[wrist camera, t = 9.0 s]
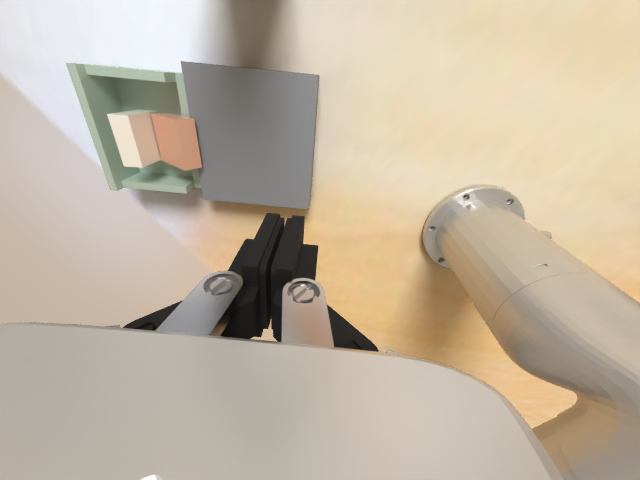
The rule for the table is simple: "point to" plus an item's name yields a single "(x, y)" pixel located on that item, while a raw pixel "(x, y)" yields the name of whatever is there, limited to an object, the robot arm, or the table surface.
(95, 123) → the bin
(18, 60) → the table surface
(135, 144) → the cream tile
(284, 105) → the slate board
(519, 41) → the table surface
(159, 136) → the terracotta tile
